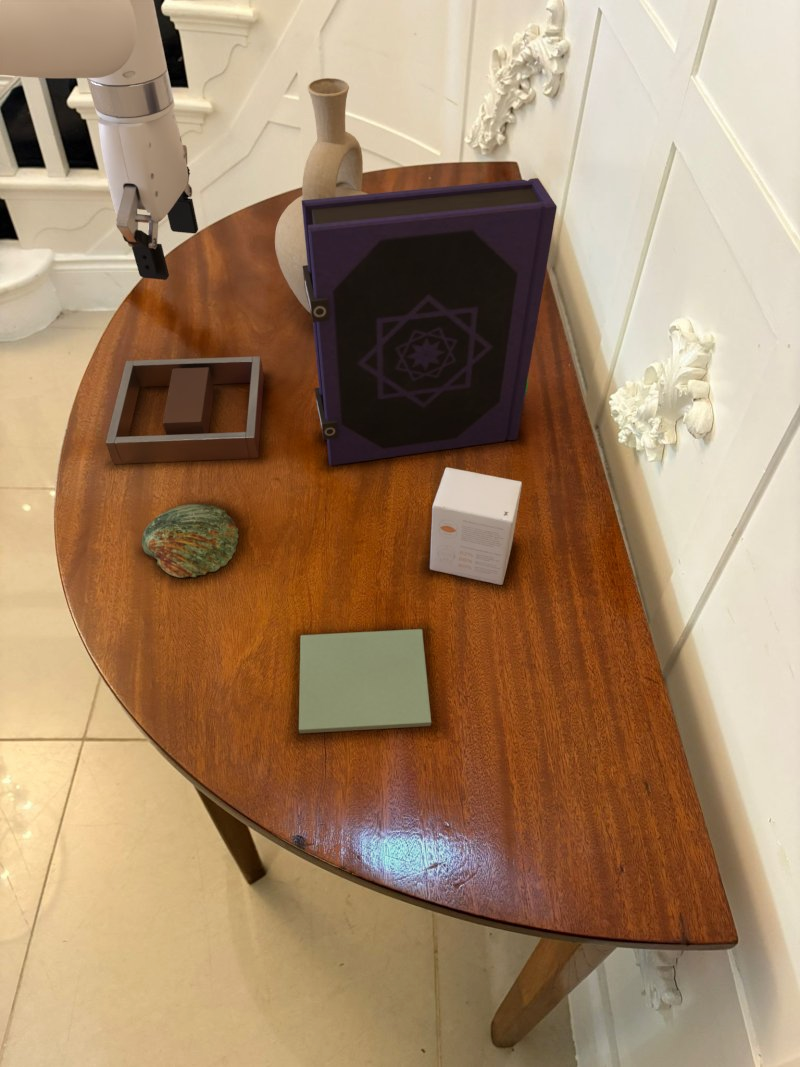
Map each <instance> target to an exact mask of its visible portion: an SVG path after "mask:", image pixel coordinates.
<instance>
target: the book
mask: <svg viewBox="0 0 800 1067" xmlns="http://www.w3.org/2000/svg"><path fill="white" fill-rule="evenodd" d="M557 209H558V206H557V204H556V203H555V201H554V199H552V197H551V195H550V194H549V192H548V191H547V189H546V188H545V186H544V185H543V183H542V182H541V180H540V179H539V178H538V177H535V178H529V179H512V180H502V181H492V182H482V183H481V182H480V183H471V184H462V185H461V184H460V185H450V186H449V185H448V186H441V187H440V186H439V187H430V188H429V187H428V188H418V189H408V190H397V191H386V192H385V191H384V192H376V193H367V194H364V195H354V196H343V197H333V198H322V199H311V200H302V211H303V221H304V232H305V243H306V253H307V264H308V265H305V266H303V275H304V285H305V290H306V295H307V299H308V304H309V308H310V313H309V314H310V317H311V320H312V325H313V326H312V327H313V338H314V347H315V357H316V369H317V379H318V387H314V395H315V404H316V405H315V406H316V409H317V414H318V420H319V424H320V428H321V433H322V438H323V441H326V443H327V445H326V446H327V455H328V464H329V467H332V466H336V465H337V466H339V465H345V464H353V463H359V462H366V461H373V460H380V459H387V458H396V457H402V456H408V455H416V454H422V453H423V454H424V453H430V452H437V451H445V450H452V449H458V448H459V449H460V448H465V447H472V446H474V447H475V446H480V445H487V444H494V443H495V444H496V443H501V442H505V441H506V440H507V441H515V440H518V437H519V431H520V425H521V419H522V413H523V408H524V402H525V398H524V396H525V397H526V395H525V390H526V385H527V379H528V380H529V373H530V367H531V360H532V356H533V349H534V342H535V338H536V332H537V326H538V319H539V313H540V308H541V303H542V302H541V301H542V296H543V290H544V285H545V278H546V274H547V268H548V262H549V257H550V256H549V255H550V250H551V249H550V248H551V245H552V244H551V243H552V239H553V238H552V237H553V232H554V226H555V220H556V219H555V218H556V214H557Z"/></svg>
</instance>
